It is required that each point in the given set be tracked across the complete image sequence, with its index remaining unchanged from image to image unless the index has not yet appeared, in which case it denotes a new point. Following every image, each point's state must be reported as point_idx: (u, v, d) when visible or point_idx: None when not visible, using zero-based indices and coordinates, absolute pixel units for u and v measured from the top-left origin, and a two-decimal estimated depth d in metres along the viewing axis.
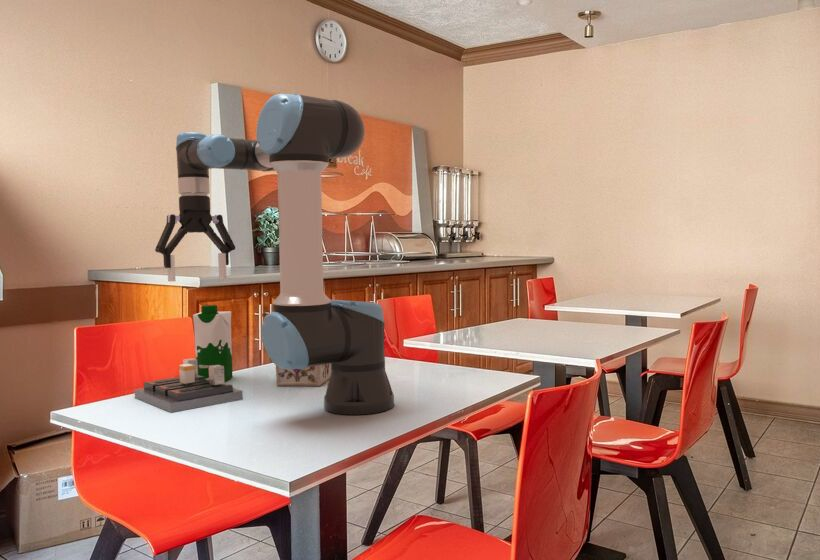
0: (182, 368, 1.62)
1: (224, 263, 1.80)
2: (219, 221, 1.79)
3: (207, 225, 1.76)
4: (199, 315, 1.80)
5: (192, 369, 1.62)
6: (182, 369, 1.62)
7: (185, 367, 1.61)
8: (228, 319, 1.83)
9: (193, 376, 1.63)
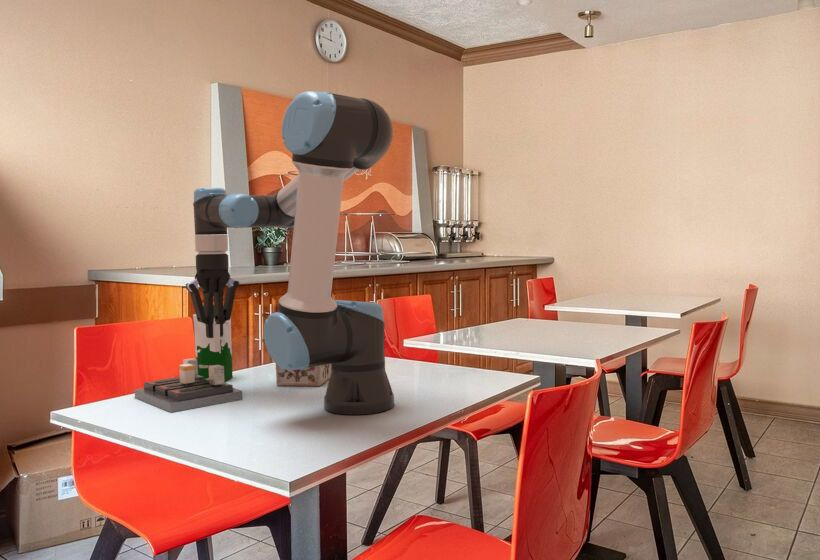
0: (182, 368, 1.62)
1: (218, 335, 1.67)
2: (233, 286, 1.69)
3: (221, 286, 1.67)
4: None
5: (192, 369, 1.62)
6: (182, 369, 1.62)
7: (185, 367, 1.61)
8: None
9: (193, 376, 1.63)
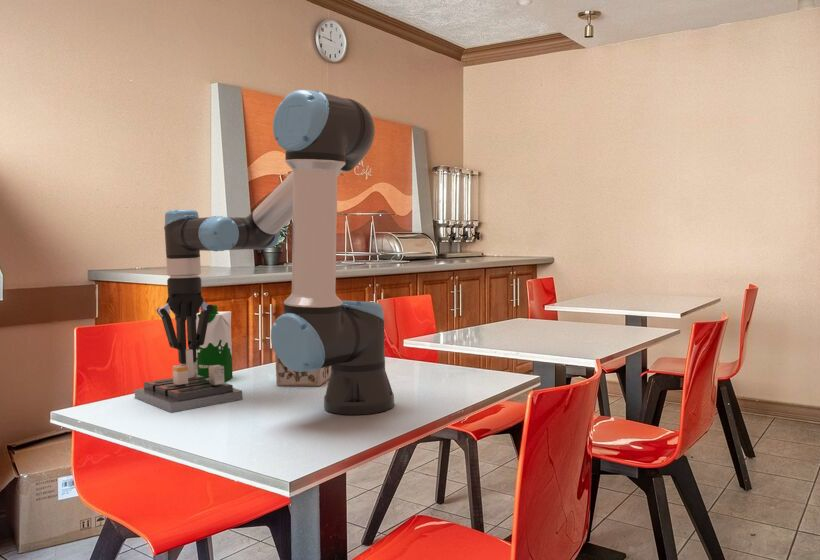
0: (176, 369, 1.61)
1: (191, 361, 1.62)
2: (207, 310, 1.65)
3: (194, 310, 1.62)
4: (199, 315, 1.80)
5: (185, 370, 1.61)
6: (175, 370, 1.61)
7: (178, 368, 1.60)
8: (228, 319, 1.83)
9: (186, 377, 1.62)
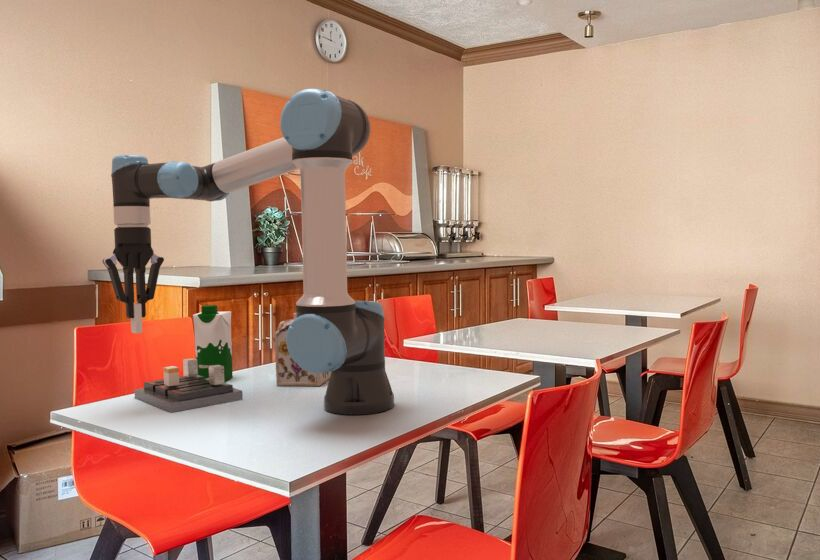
0: (167, 370, 1.59)
1: (139, 315, 1.54)
2: (157, 263, 1.57)
3: (142, 262, 1.54)
4: (199, 315, 1.80)
5: (176, 371, 1.60)
6: (166, 371, 1.59)
7: (169, 369, 1.59)
8: (228, 319, 1.83)
9: (178, 378, 1.60)
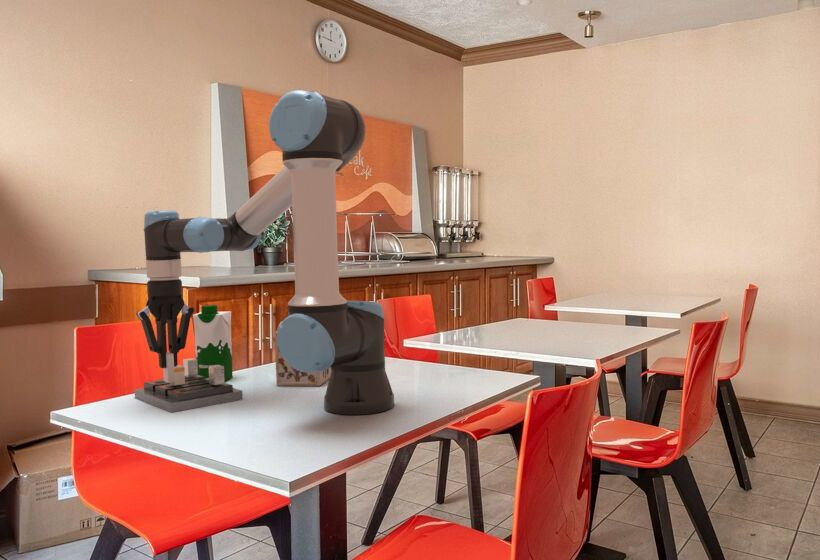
0: None
1: (172, 365, 1.59)
2: (188, 313, 1.62)
3: (174, 313, 1.59)
4: (199, 315, 1.80)
5: (182, 370, 1.61)
6: None
7: (175, 368, 1.60)
8: (228, 319, 1.83)
9: (183, 378, 1.61)
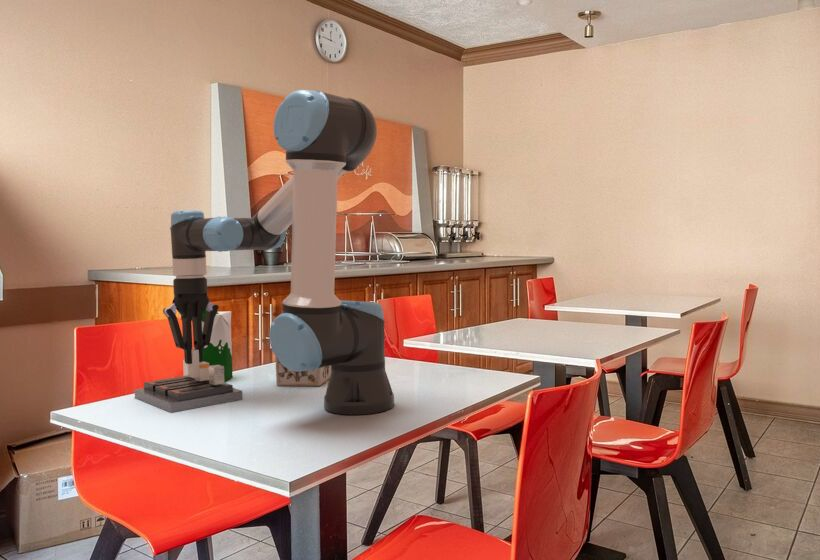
0: None
1: (197, 361, 1.63)
2: (212, 310, 1.66)
3: (200, 311, 1.63)
4: None
5: (207, 367, 1.65)
6: None
7: (200, 365, 1.64)
8: (228, 319, 1.83)
9: (208, 374, 1.65)
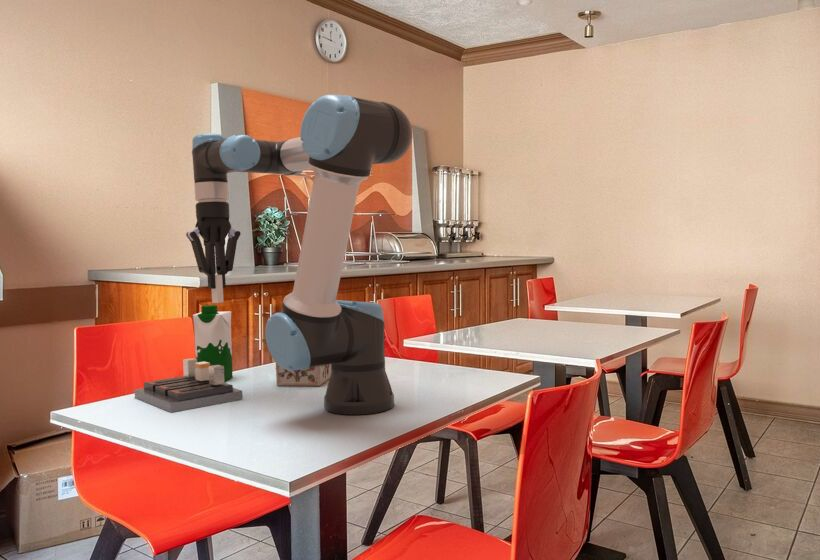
0: (198, 365, 1.64)
1: (221, 286, 1.63)
2: (234, 236, 1.66)
3: (222, 235, 1.63)
4: (199, 315, 1.80)
5: (208, 367, 1.65)
6: (198, 367, 1.64)
7: (201, 365, 1.64)
8: (228, 319, 1.83)
9: None
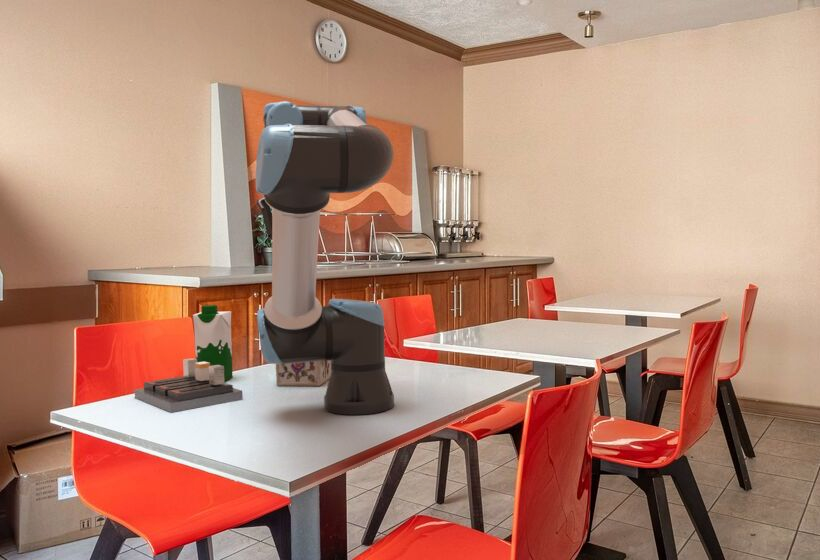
0: (198, 365, 1.64)
1: None
2: None
3: None
4: (199, 315, 1.80)
5: (208, 367, 1.65)
6: (198, 367, 1.64)
7: (201, 365, 1.64)
8: (228, 319, 1.83)
9: None
